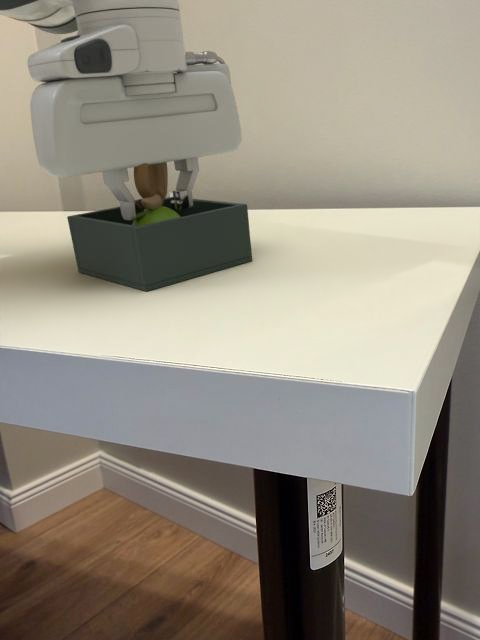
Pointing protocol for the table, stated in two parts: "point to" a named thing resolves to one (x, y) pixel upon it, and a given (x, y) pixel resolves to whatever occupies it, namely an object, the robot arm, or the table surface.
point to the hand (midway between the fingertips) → (158, 213)
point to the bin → (161, 244)
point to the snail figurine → (153, 193)
